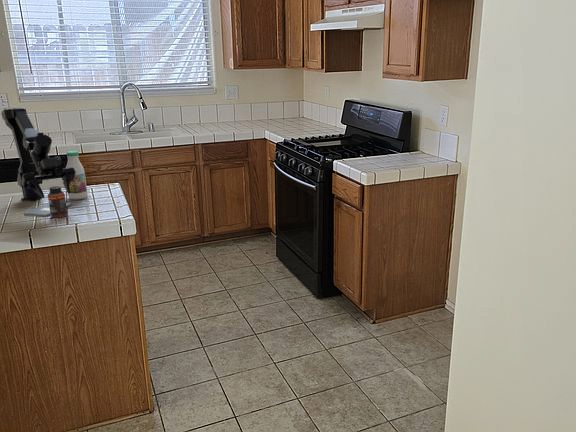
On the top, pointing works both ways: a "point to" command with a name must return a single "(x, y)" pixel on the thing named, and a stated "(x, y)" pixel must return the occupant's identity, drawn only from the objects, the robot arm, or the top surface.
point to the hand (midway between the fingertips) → (56, 195)
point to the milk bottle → (76, 177)
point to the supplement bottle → (57, 202)
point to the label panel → (43, 210)
